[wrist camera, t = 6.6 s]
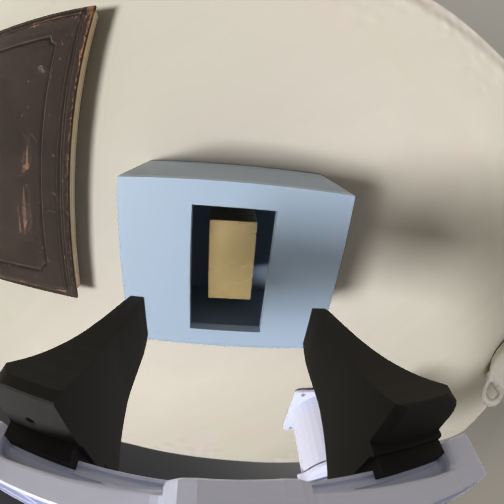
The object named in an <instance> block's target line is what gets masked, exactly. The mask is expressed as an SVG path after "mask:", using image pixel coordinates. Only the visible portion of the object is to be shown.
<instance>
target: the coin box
mask: <svg viewBox="0 0 504 504" xmlns="http://www.w3.org/2000/svg"><path fill="white" fill-rule="evenodd" d="M354 201H355V195H353V194H351V193H350V192H348V191H347V190H345V189H344V188H342V187H340V186H339V185H337V184H336V183H334V182H332V181H331V180H329V179H327V178H326V177H324V176H323V175H321V174H314V173H306V172H299V171H291V170H282V169H274V168H264V167H254V166H244V165H232V164H219V163H203V162H185V161H157V160H151V161H148V162H146V163H144V164H142V165H140V166H138V167H136V168H133V169H131V170H129V171H127V172H125V173H123V174H121V175H119V176H117V209H118V230H119V245H120V258H121V268H122V278H123V287H124V295H125V300H126V299H127V298H128V297H130V296H140V297H144V301H145V311H146V320H147V329H148V337H147V339H152V340H160V341H170V342H180V343H191V344H203V345H217V346H234V347H257V348H303V341H304V337H305V334H306V330H307V326H308V323H309V319H310V315H311V311H312V308H325V309H327V310H328V309H329V306H330V302H331V299H332V295H333V291H334V288H335V284H336V280H337V276H338V272H339V268H340V264H341V260H342V256H343V252H344V248H345V243H346V239H347V235H348V230H349V225H350V221H351V216H352V211H353V206H354ZM213 206H222V207H235V208H247V209H254V210H255V214H256V219H257V232H256V243H255V254H254V265H253V275H252V286H251V297H250V299H227V298H208V275H209V233H210V218H211V214H212V209H213Z"/></svg>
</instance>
